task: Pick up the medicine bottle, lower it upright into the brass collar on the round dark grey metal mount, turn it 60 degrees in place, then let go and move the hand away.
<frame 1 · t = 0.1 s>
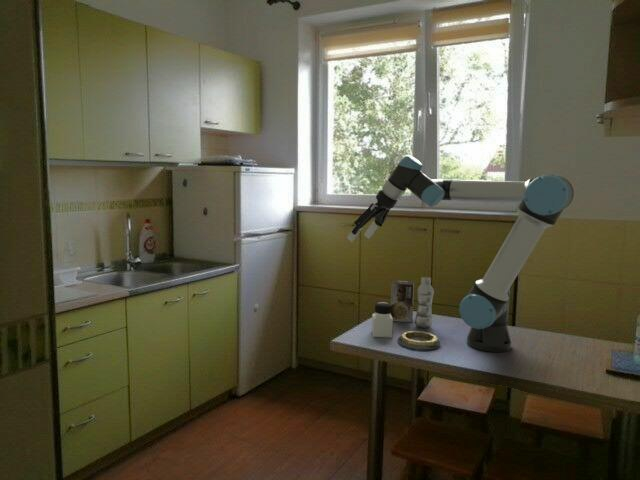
hand: (358, 238, 187), 36 cm above the table, tool tilted 35°, fingers open, 13 cm apart
coffee box: (401, 320, 206), on the table
plastic bottle: (423, 327, 196), on the table
medicine bottle: (381, 334, 186), on the table
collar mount: (419, 343, 177), on the table
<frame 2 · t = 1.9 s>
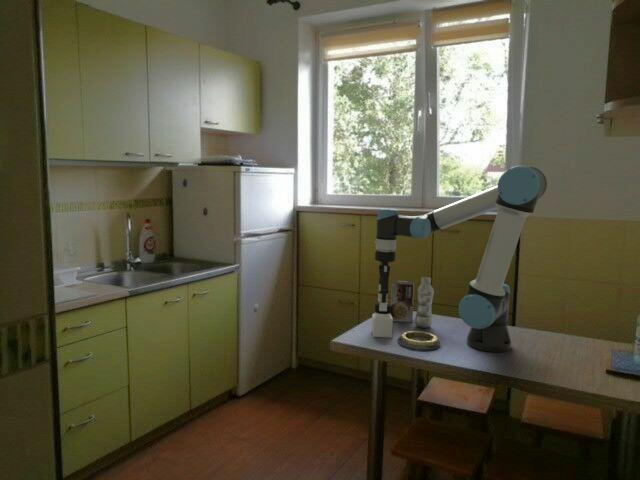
hand: (382, 305, 185), 11 cm above the table, tool pointing down, fingers open, 13 cm apart
nothing on the table moved.
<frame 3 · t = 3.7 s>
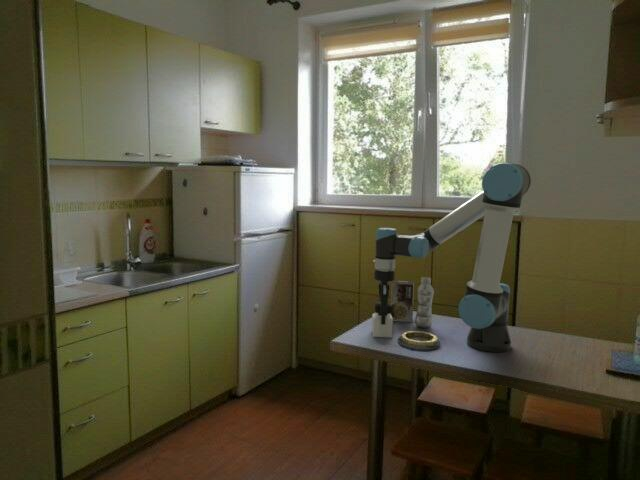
hand: (382, 328, 185), 2 cm above the table, tool pointing down, fingers closed on medicine bottle, 7 cm apart
medicine bottle: (381, 334, 186), on the table, touching gripper
everything else where it was.
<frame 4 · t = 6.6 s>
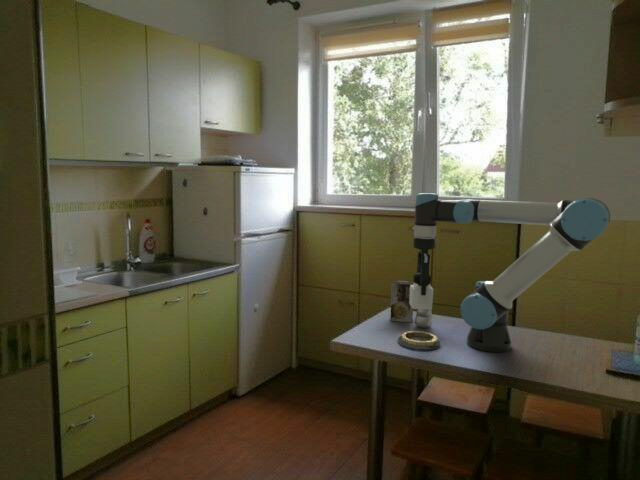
hand: (421, 300, 175), 16 cm above the table, tool pointing down, fingers closed on medicine bottle, 7 cm apart
medicine bottle: (420, 307, 175), point 13 cm above the table, touching gripper
everything else where it was.
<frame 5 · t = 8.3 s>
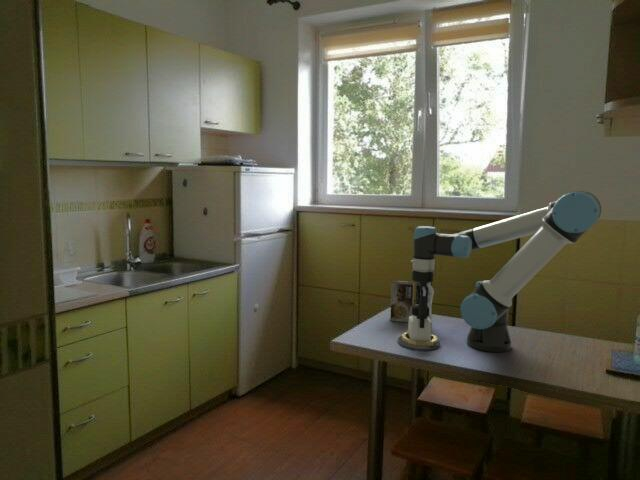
hand: (419, 332, 176), 4 cm above the table, tool pointing down, fingers closed on medicine bottle, 7 cm apart
medicine bottle: (419, 338, 177), point 2 cm above the table, touching gripper
everything else where it was.
when the fingers open (4 cm above the table, at t = 9.7 s): medicine bottle stays where it is, resting on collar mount.
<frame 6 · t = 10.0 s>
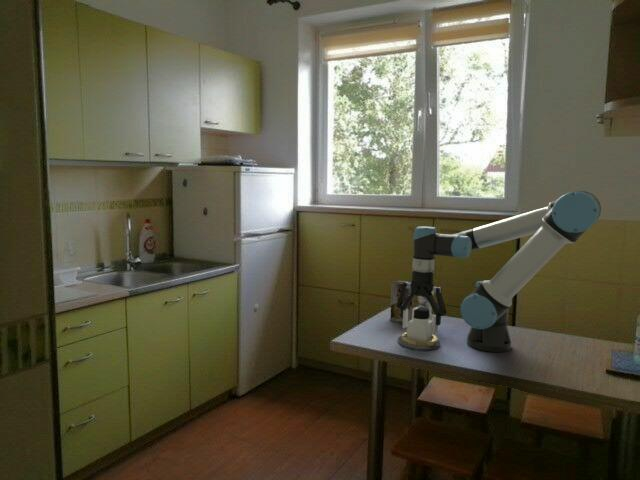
hand: (419, 330, 176), 5 cm above the table, tool pointing down, fingers open, 11 cm apart
medicine bottle: (419, 341, 177), point 1 cm above the table, touching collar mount
everything else where it was.
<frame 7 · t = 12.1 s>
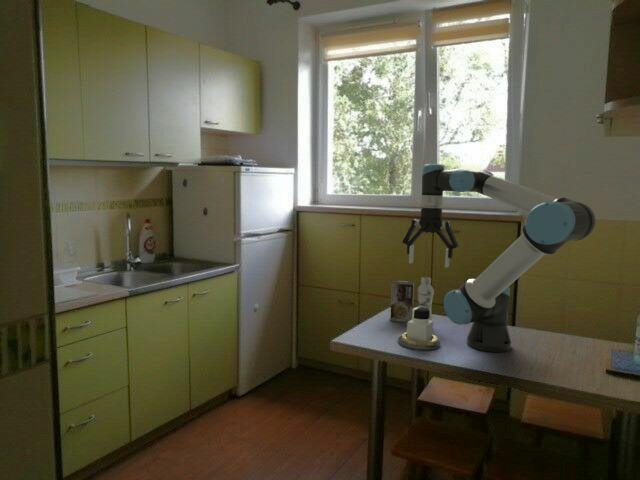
hand: (428, 264, 181), 27 cm above the table, tool pointing down, fingers open, 13 cm apart
nothing on the table moved.
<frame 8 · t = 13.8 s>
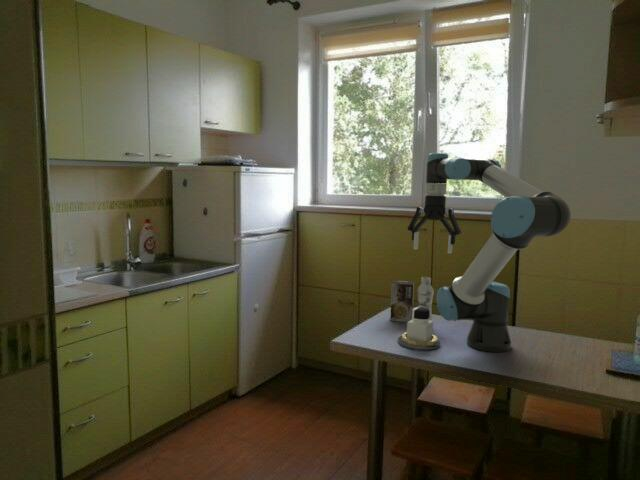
hand: (432, 251, 186), 32 cm above the table, tool pointing down, fingers open, 13 cm apart
nothing on the table moved.
at the end: medicine bottle 0.1 cm off-centre on the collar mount, point 0.8 cm above the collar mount's base; medicine bottle tilted 0°; the gripper is holding nothing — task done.
